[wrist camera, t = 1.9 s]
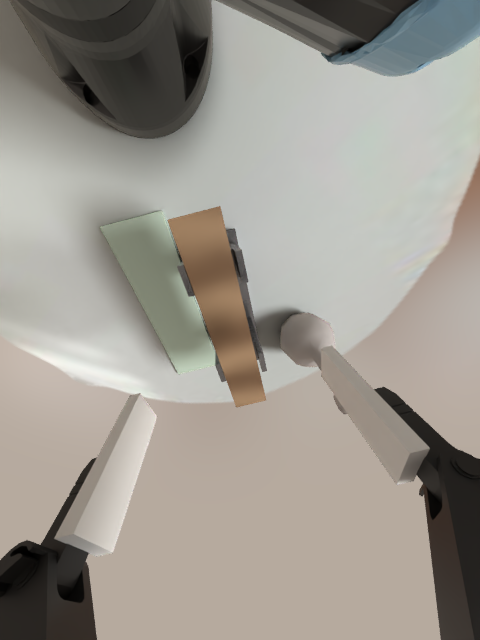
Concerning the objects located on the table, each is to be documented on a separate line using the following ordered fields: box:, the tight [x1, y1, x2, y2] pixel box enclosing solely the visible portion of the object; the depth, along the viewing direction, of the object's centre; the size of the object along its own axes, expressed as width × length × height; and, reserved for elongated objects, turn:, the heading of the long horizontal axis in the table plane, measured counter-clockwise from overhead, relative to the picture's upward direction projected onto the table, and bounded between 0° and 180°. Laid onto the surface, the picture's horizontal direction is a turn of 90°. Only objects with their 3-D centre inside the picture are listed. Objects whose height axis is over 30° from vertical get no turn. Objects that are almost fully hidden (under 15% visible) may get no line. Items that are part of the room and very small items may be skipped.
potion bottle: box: [280, 312, 347, 414], centre depth 26 cm, size 9×9×18 cm
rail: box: [168, 206, 266, 407], centre depth 20 cm, size 22×4×4 cm, turn 13°
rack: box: [177, 229, 267, 382], centre depth 24 cm, size 18×7×10 cm, turn 13°
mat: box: [100, 211, 215, 374], centre depth 29 cm, size 26×8×1 cm, turn 13°
